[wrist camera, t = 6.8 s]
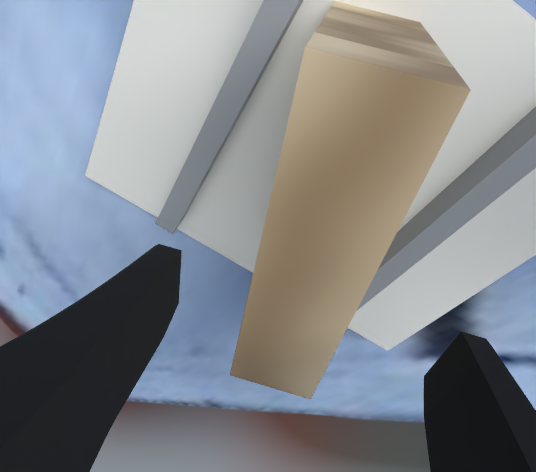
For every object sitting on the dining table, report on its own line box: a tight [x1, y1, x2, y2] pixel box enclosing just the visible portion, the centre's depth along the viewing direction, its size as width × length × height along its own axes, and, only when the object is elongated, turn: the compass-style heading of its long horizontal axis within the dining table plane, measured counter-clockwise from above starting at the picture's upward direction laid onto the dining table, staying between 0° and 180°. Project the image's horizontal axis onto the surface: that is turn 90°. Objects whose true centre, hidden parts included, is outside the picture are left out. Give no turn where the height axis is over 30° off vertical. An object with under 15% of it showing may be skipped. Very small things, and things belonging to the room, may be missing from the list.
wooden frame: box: [230, 1, 471, 399], centre depth 13 cm, size 3×11×8 cm, turn 169°
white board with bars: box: [85, 0, 536, 351], centre depth 17 cm, size 20×16×3 cm
